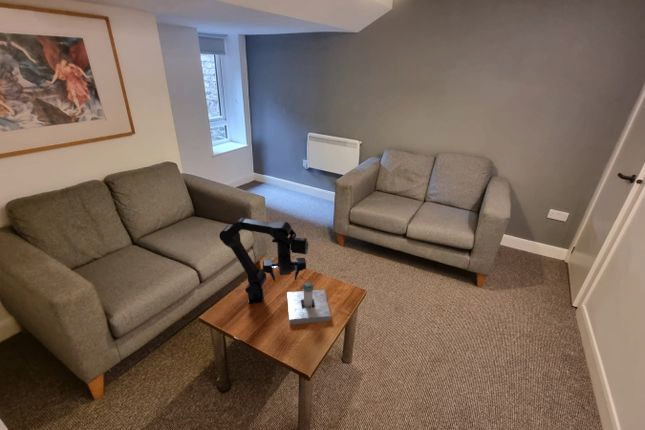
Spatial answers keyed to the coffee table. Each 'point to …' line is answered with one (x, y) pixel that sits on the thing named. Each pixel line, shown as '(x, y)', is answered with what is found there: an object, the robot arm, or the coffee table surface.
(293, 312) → the housing
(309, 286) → the plug
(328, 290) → the coffee table surface
